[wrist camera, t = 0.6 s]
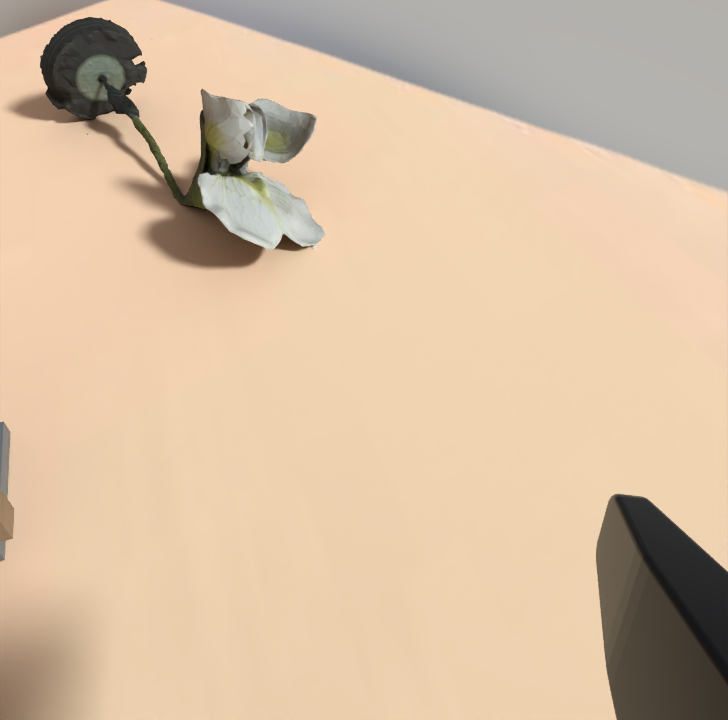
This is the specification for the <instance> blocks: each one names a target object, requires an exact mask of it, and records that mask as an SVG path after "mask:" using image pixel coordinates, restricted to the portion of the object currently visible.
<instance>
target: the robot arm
mask: <svg viewBox="0 0 728 720" xmlns="http://www.w3.org/2000/svg"><path fill="white" fill-rule="evenodd" d="M596 564H597V575H598V586H599V596H600V607H601V618H602V629H603V640H604V650H605V659H606V668H607V674H608V679H609V685H610V690H611V695H612V699H613V704H614V709H615V713H616V718H617V720H728V571H726V570H725V569H724V568H723V567H722V566H721V565H720V564H719V563H718V562H717V561H715V560H714V559H713V558H712V557H711V556H710V555H709V554H708V553H707V552H706V551H704V550H703V549H702V548H701V547H700V546H699V545H698V544H697V543H696V542H695V541H693V540H692V539H691V538H690V537H689V536H688V535H687V534H686V533H685V532H684V531H682V530H681V529H680V528H679V527H678V526H677V525H676V524H675V523H674V522H673V521H671V520H670V519H669V518H668V517H667V516H666V515H665V514H664V513H663V512H662V511H660V510H659V509H658V508H657V507H656V506H655V505H654V504H653V503H652V502H650V501H649V500H648V499H647V498H644V497H640V496H632V495H624V494H615V495H613V496H612V497H611V498H610V500H609V502H608V505H607V509H606V512H605V516H604V520H603V523H602V527H601V531H600V534H599V538H598V542H597V548H596Z"/></svg>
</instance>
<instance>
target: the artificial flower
mask: <svg viewBox="0 0 728 720" xmlns="http://www.w3.org/2000/svg"><path fill="white" fill-rule="evenodd" d="M139 55H142V52H141V50H140V49H139V47H138V45H137V44H136V42H135V41H134V39H133V37H132V36H131V35H130V34H129V32H128V31H127V30H125V28H122V27H121V26H119V25H117V24H115V23H113V22H111V20H104V19H102V18H92V17H88V18H84V19H79V20H75V21H74V22H71V23H70V24H67V25H65V26H64V27H63V28H61V29H60V31H58V32H57V34H55V35H54V37H52V38H51V40H50V43H49V45H48V44H47V45H46V47H45V49H44V51H43V55H42V56H40V57H41V62H40V68H41V69H42V74H43V77H44V81H45V83H46V85H47V86H48V89H47V91H46V95H47V97H48V98H49V100H50V101H51V102H52V104H53V105H55V107H57V109H66V110H67V111H69V112H71V113H72V114H74V115H76V116H78V117H83V118H86V119H95V117H96V115H97V114H105V113H107V112H110V111H115V112H116V114H126V115H128V116H129V117H130V118H131V119H132V121H133V124H134V126H135V128H136V129H137V130H138V131H139V132H140V133H141V134H142V136H143V137H144V138H145V140H146V142H148V144H149V147H150V150H151V152H152V153H153V155H154V156H155V158H156V160H157V162H158V164H159V167H160V169H161V170H162V172H163V173H164V176H165V179H166V181H167V183H168V185H169V186H170V188H171V189H172V191H173V195H174V197H175V198H176V199H177V200H178V201H179V203H181V204H183V205H188V206H195V207H199V208H202V209H207V210H209V211H211V212H212V213H213V214H214V215H216V216H217V218H218V219H219V220H220V221H221V222H222V223H223V225H224V226H225V227H226V228H227V229H228V230H229V231H230V232H232V233H234V234H236V235H237V236H239V237H240V238H242V239H244V240H247V241H250V242H252V243H254V244H257V245H259V246H262V247H264V248H265V249H266V250H273V249H274V248H275V247H276V246H277V245H278V243H279V242H280V240H281V238H282V234H285V235H287V236H288V237H289V238H290V239H291V240H293V241H294V242H295V243H297V244H299V245H300V246H302V247H304V246H311V245H312V246H314V245H316V244H317V243H319V242H320V241H321V238H323V237H324V235H325V232H324V231H323V229H322V226H320V225H318V224H317V223H316V222H315V221H314V220H313V219H312V216H311V213H310V212H309V211H308V207H307V205H306V203H305V201H304V200H303V199H301V198H298V197H294V196H293V195H292V194H291V193H290V191H289V190H288V188H287V187H286V186H285V185H283V184H282V183H280V182H278V181H273V180H271V179H270V178H268V177H266V176H264V175H263V174H262V173H261V172H251V173H247V172H246V169H247V167H248V161H249V160H250V159H253V160H255V161H258V162H261V161H262V160H265V161H270V162H278V163H285V162H288V161H289V160H291V159H292V158H294V157H295V156H296V155H297V154H299V153H300V152H301V151H302V149H303V148H304V146H305V144H306V143H307V142H308V140H309V139H310V138H311V136H312V135H313V133H314V131H315V128H316V116H314V115H312V114H309V113H303V112H297V111H292V110H289V109H287V108H285V107H283V106H282V105H280V104H278V103H276V102H274V101H271V100H268V99H257V100H256V101H254V102H253V103H251V104H247V103H245V102H242V101H240V100H234V99H229V98H225V97H218V96H214V95H210V94H209V93H208V92H206V91H205V90H204V89H202V90H201V95H202V103H203V110H202V111H201V113H200V129H201V158H200V162H199V166H198V169H197V172H196V174H195V176H194V178H193V182H192V185H191V187H190V189H189V192H188V193H187V195H185V196H183V194H182V193H181V191H180V189H179V187H178V186H177V184H176V182H175V180H174V178H173V175H172V173H171V171H170V170H169V169H168V164H167V163H166V160H165V158H164V156H163V155H162V154H161V151H160V148H159V147H158V145H157V144H156V142H155V140H154V138H153V137H152V136H151V135H150V133H149V131H148V130H147V129H146V127H145V126H144V125H143V124H142V122H141V121H140V119H139V110H138V109H137V107H136V106H135V104H134V103H133V102H132V101H131V100H130V99H129V98H128V97H127V96H125V95H129V94H130V92H131V91H132V90H131V89H130V88H129V87H130V86H132V85H135V86H136V83H139V82H142V83H144V81H145V78H146V74H147V68H146V67H145V62H144V61H143V62H141V63H139V64H137V65H134V63H133V61H132V59H134V58H136V57H137V56H139ZM87 135H88V133H87ZM318 245H319V244H318ZM318 245H316V246H314V247H313V249H314V248H315V247H317V246H318ZM311 248H312V247H311Z"/></svg>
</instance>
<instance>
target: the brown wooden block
mask: <svg viewBox="0 0 728 720" xmlns="http://www.w3.org/2000/svg"><path fill="white" fill-rule="evenodd" d="M13 521H14V508H13V506H12V505H11V504H10V502H9V501H8V499H7V498H6V497H5V495H4V494H3V492H2V491H1V490H0V542H1V541H5V540H9V539H13Z"/></svg>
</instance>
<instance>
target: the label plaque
mask: <svg viewBox="0 0 728 720" xmlns="http://www.w3.org/2000/svg"><path fill="white" fill-rule="evenodd" d="M9 447H10V431H9V429H8V428H7V426H6V425H5V423H4V422H0V490H1V491H2V492H3V494H4V495H5V497H6V498H7V492H8V470H9ZM2 560H5V541H1V542H0V561H2Z"/></svg>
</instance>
